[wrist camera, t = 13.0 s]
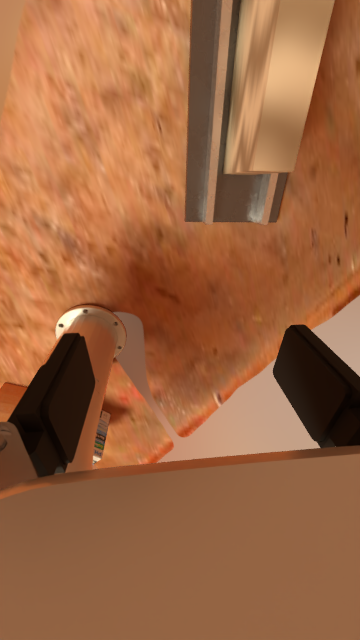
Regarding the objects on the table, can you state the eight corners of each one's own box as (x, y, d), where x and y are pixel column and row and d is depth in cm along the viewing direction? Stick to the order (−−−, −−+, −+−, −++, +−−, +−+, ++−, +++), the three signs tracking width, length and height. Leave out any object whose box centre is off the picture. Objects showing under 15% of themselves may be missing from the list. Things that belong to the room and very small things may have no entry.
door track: (273, 221, 35) (284, 224, 32) (184, 220, 34) (187, 224, 31) (346, -112, 20) (379, -162, 17) (195, -135, 19) (202, -194, 16)
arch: (35, 388, 49) (10, 431, 40) (22, 439, 58) (-1, 483, 49) (5, 382, 47) (-28, 425, 39) (-4, 435, 56) (-32, 480, 47)
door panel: (251, 174, 31) (293, 171, 21) (222, 174, 30) (253, 170, 21) (281, -17, 22) (373, -161, 13) (242, -22, 22) (308, -173, 13)
